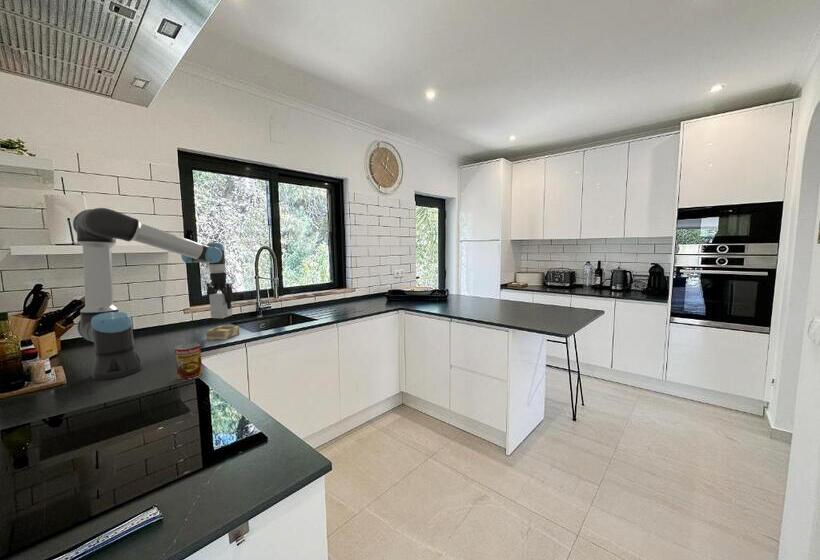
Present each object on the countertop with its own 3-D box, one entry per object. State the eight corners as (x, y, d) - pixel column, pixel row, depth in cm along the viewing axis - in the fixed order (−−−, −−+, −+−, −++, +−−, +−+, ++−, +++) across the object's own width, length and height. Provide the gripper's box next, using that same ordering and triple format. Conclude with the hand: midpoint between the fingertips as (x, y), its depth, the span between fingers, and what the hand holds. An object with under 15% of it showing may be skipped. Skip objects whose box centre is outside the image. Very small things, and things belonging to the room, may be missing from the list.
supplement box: (223, 318, 178) (221, 294, 177) (210, 318, 180) (208, 294, 178) (232, 315, 186) (230, 292, 184) (220, 315, 187) (218, 292, 185)
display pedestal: (224, 340, 177) (224, 331, 177) (206, 339, 180) (206, 330, 179) (239, 334, 188) (238, 326, 188) (222, 333, 190) (221, 325, 190)
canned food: (178, 382, 125) (174, 350, 123) (178, 375, 131) (175, 345, 130) (203, 377, 129) (200, 346, 128) (202, 370, 136) (199, 341, 134)
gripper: (239, 271, 181) (243, 313, 184) (206, 271, 185) (210, 312, 188) (229, 272, 174) (233, 316, 177) (195, 272, 178) (199, 315, 181)
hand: (221, 314), depth 183 cm, fingers closed on supplement box, 7 cm apart
